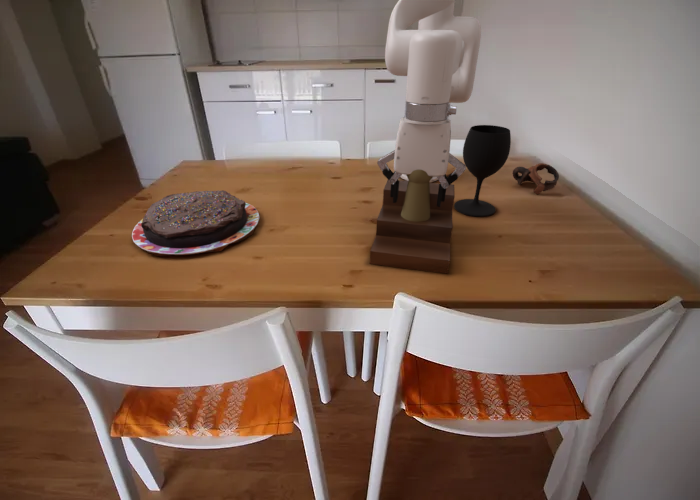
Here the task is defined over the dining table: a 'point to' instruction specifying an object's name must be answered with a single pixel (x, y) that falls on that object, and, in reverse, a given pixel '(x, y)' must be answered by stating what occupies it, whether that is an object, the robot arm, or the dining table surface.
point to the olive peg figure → (417, 197)
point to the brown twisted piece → (536, 176)
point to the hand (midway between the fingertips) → (416, 202)
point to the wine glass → (483, 163)
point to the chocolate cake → (195, 223)
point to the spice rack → (414, 233)
